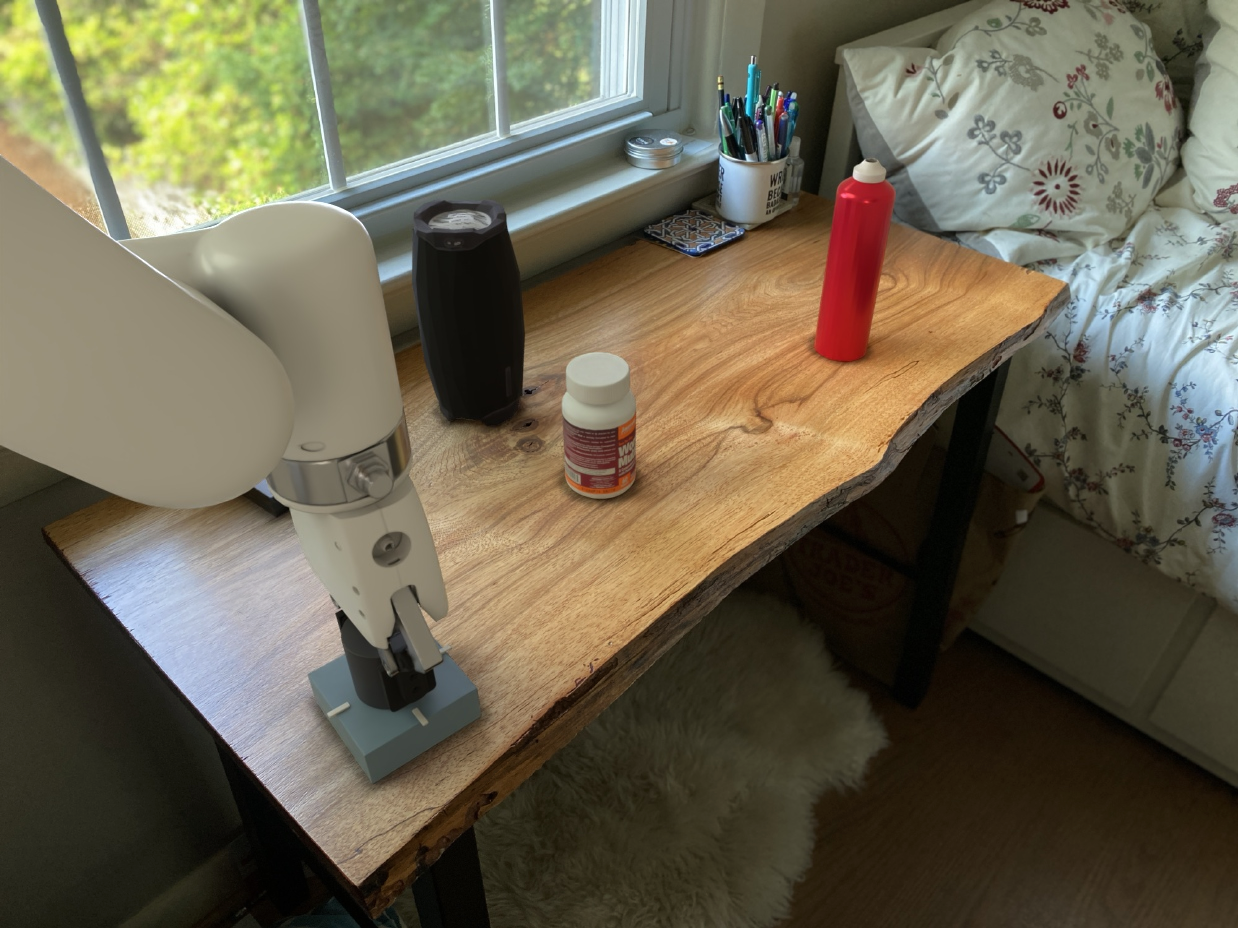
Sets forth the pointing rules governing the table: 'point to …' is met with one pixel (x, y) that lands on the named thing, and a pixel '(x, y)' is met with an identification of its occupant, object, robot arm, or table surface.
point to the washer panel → (394, 715)
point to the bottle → (854, 262)
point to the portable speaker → (469, 308)
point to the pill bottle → (599, 426)
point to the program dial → (365, 664)
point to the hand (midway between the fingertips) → (390, 668)
